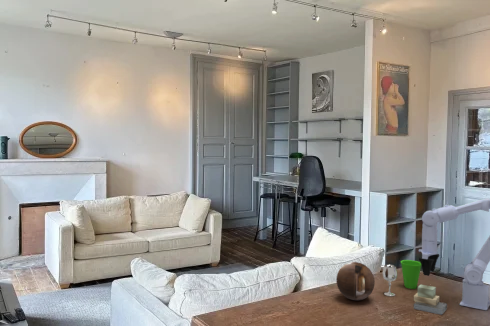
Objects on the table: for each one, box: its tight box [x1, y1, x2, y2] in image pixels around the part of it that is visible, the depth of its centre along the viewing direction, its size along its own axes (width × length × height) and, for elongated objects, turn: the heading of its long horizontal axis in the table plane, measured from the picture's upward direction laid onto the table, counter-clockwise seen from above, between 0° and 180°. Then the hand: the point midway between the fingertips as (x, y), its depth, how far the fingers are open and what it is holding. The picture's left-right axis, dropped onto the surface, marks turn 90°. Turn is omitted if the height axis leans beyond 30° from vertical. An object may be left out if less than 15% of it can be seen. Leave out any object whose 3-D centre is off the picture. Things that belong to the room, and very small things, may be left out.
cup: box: [400, 259, 422, 290], centre depth 190 cm, size 9×9×11 cm
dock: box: [413, 301, 448, 316], centre depth 164 cm, size 10×8×2 cm
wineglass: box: [382, 264, 398, 297], centre depth 180 cm, size 6×6×12 cm
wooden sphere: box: [335, 261, 375, 301], centre depth 174 cm, size 15×15×15 cm
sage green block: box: [413, 284, 440, 305], centre depth 166 cm, size 8×6×6 cm
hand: (428, 273), depth 175 cm, fingers open, 7 cm apart
